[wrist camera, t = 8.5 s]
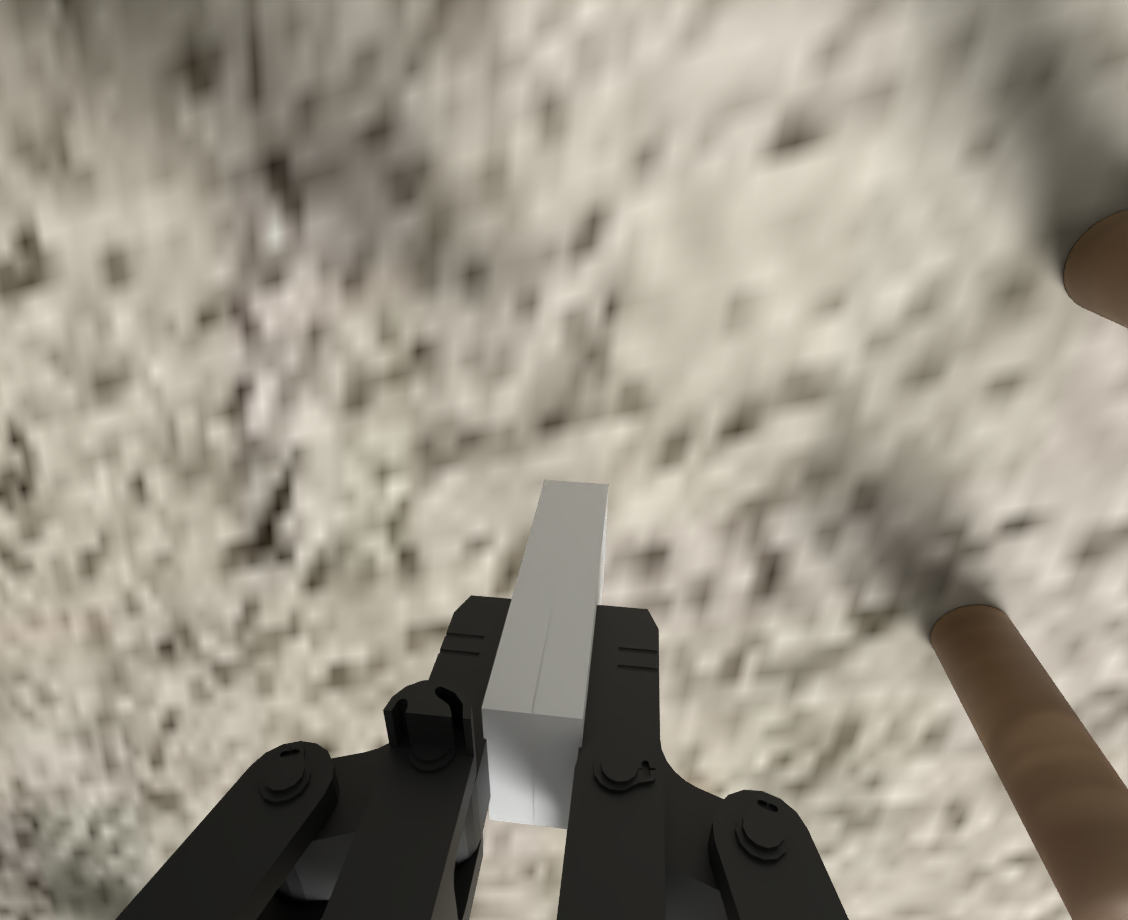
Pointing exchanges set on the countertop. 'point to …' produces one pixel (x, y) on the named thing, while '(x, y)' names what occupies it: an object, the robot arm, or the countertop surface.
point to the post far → (1041, 759)
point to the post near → (1101, 269)
